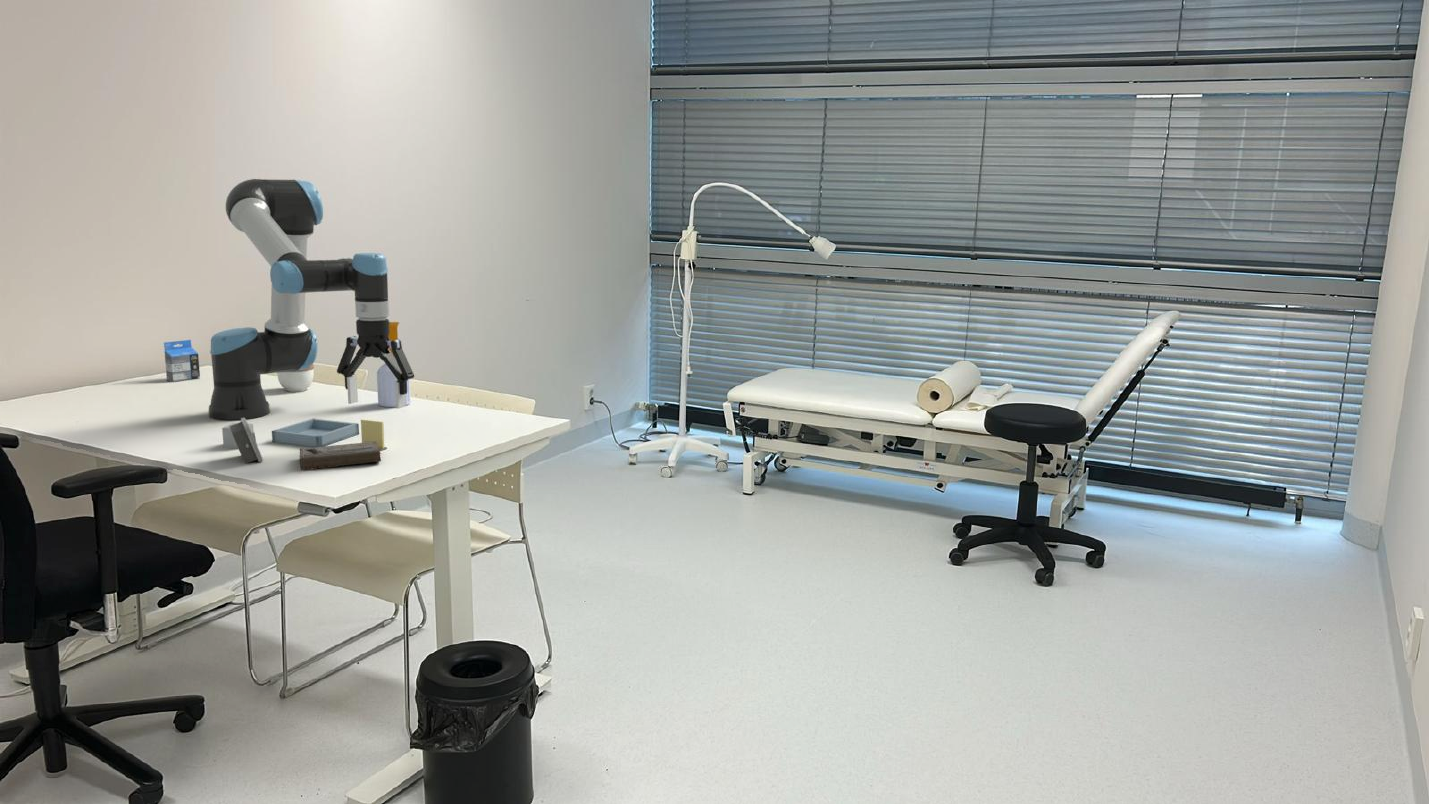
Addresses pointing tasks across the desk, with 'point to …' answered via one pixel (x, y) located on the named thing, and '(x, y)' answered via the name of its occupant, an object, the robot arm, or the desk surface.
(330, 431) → the parts tray
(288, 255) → the robot arm
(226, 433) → the grey block
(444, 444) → the desk surface
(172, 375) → the label tape cartridge
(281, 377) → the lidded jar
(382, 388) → the soap bottle
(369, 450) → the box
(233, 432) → the electrical switch
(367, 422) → the label card
